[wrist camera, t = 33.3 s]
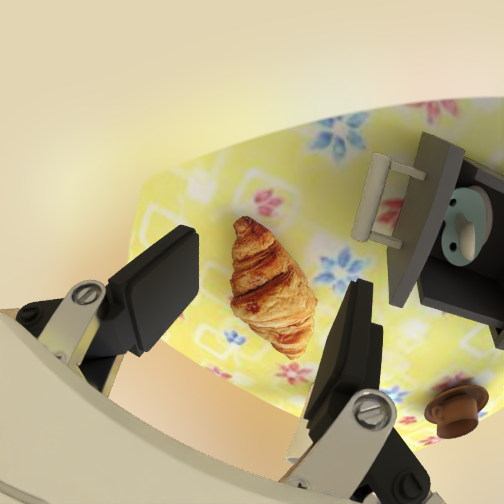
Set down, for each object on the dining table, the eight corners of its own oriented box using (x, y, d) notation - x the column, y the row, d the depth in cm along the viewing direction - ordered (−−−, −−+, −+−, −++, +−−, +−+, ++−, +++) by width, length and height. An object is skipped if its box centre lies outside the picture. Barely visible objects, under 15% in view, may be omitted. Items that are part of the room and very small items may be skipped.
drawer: (346, 237, 28) (336, 288, 20) (376, 116, 21) (383, 119, 14) (492, 287, 23) (514, 341, 16) (535, 187, 16) (580, 222, 9)
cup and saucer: (415, 415, 38) (413, 444, 33) (439, 377, 32) (441, 410, 27) (468, 415, 33) (469, 442, 28) (498, 377, 28) (504, 408, 23)
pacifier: (489, 177, 18) (435, 182, 20) (520, 199, 13) (456, 206, 15) (488, 249, 21) (438, 255, 23) (511, 284, 15) (453, 293, 18)
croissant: (323, 330, 40) (340, 367, 33) (259, 354, 41) (266, 393, 33) (277, 194, 32) (293, 210, 25) (197, 226, 33) (188, 251, 25)
